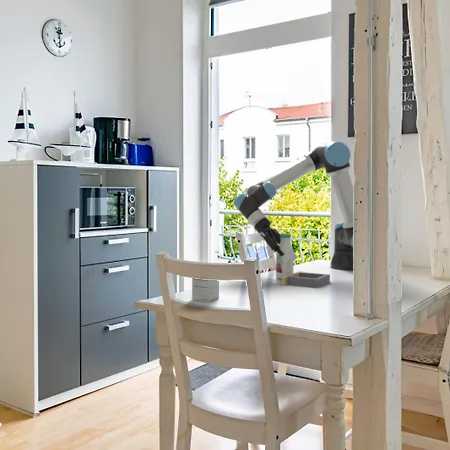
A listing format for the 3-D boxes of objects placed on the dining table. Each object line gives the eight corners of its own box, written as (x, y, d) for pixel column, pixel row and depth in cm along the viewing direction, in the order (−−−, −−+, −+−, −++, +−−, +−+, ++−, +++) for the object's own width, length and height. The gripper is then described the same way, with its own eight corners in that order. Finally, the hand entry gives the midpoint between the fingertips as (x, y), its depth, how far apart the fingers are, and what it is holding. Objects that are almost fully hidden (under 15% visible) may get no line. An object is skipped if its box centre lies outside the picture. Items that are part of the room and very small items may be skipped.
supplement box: (202, 296, 207) (202, 262, 206) (219, 298, 203) (219, 264, 202) (191, 299, 200) (191, 264, 200) (208, 302, 197) (208, 266, 196)
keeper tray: (299, 278, 250) (299, 270, 250) (331, 281, 243) (331, 273, 242) (281, 284, 233) (281, 277, 232) (315, 288, 225) (315, 280, 225)
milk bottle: (293, 277, 253) (294, 233, 251) (293, 280, 245) (294, 234, 244) (275, 276, 253) (276, 232, 252) (275, 279, 246) (276, 234, 244)
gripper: (264, 226, 264) (295, 262, 257) (244, 228, 246) (277, 268, 240) (274, 215, 261) (306, 252, 254) (255, 217, 243) (288, 256, 237)
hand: (292, 259), depth 247 cm, fingers closed on milk bottle, 7 cm apart
